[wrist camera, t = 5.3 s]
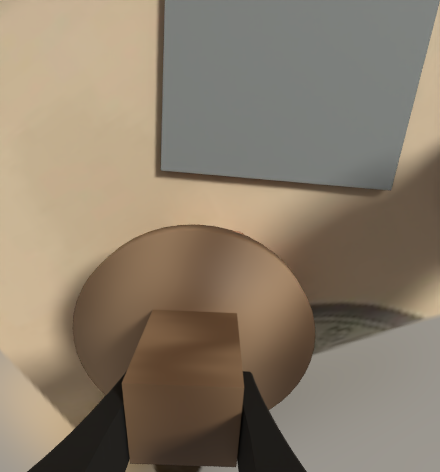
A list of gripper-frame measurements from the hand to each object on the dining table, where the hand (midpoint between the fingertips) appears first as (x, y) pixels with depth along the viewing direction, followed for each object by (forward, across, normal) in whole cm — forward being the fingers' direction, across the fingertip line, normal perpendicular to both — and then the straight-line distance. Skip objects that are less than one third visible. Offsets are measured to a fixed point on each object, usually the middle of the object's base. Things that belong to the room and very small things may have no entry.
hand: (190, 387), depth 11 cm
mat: (+7, -5, -16) cm, 18 cm away
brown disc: (+3, 0, -1) cm, 3 cm away
